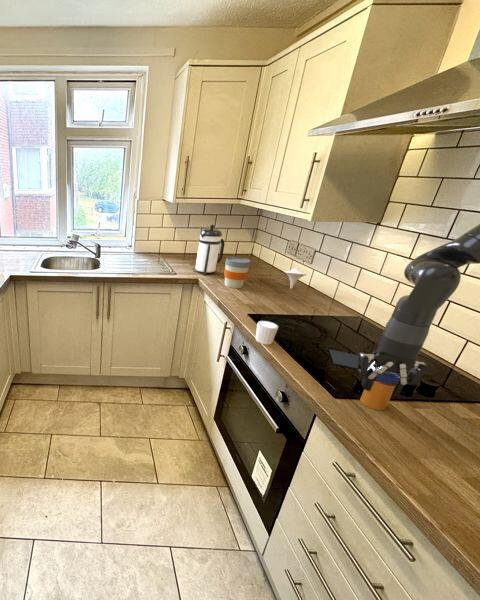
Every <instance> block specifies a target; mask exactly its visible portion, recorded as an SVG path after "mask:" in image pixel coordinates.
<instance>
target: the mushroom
mask: <svg viewBox="0 0 480 600" xmlns="http://www.w3.org/2000/svg"><path fill="white" fill-rule="evenodd" d="M283 272H284V274H286V276H287V277H288V279H289V283H290V284H289V289H290V290H292V289H293V287H294V286H295V284H296V283H297V282H298V281H299V280H300V279H301V278H303V277H305V276H307V275H308V273H305V272H303V271H300V270H299V269H298V267H294V268H293V269H291V270H286V271H283Z"/></svg>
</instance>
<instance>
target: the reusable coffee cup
mask: <svg viewBox="0 0 480 600" xmlns="http://www.w3.org/2000/svg"><path fill="white" fill-rule="evenodd" d="M224 265H225V266H224V271H223V272H224V273H223V275H224V286H225V287H228V288H231V289H241V288H243V285H244V282H245V280H246V279H247V276H248V273H249V269H250V267H251V260H250V259H249V258H245V257H240V256H228V257H227V258H225V262H224Z"/></svg>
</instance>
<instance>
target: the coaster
mask: <svg viewBox="0 0 480 600" xmlns="http://www.w3.org/2000/svg"><path fill="white" fill-rule="evenodd" d="M328 352H329V354H330V357H331V360H332V362H333V365H335V366H338V367H339V366H340V367H344V368H348V369H352V370H357V367H358V358H359V354H353V353H348V352H343V351H340V350H339V351H338V350H334V349H329V351H328ZM369 367H370V363H368V368H369ZM368 368H367V369H368Z"/></svg>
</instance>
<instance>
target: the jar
mask: <svg viewBox="0 0 480 600" xmlns="http://www.w3.org/2000/svg"><path fill="white" fill-rule="evenodd" d="M396 385H397V384H396ZM396 385H389V384H385V383H382V382H379V381H377V380H375V379H373V383H372V385H371V387H370V390H369V391H368V390H365V389H364V388H363V391H362V393H361V396H360V398H359V401H360V402H361V403H362V404H363V405H364V406H366V407H368V408H369V409H372V410H376V411H384V410H386V408H387V406H388V404H389V402H390V401H391V399H392V396H393V395H392V394H393V391H394V389H395V387H396Z"/></svg>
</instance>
